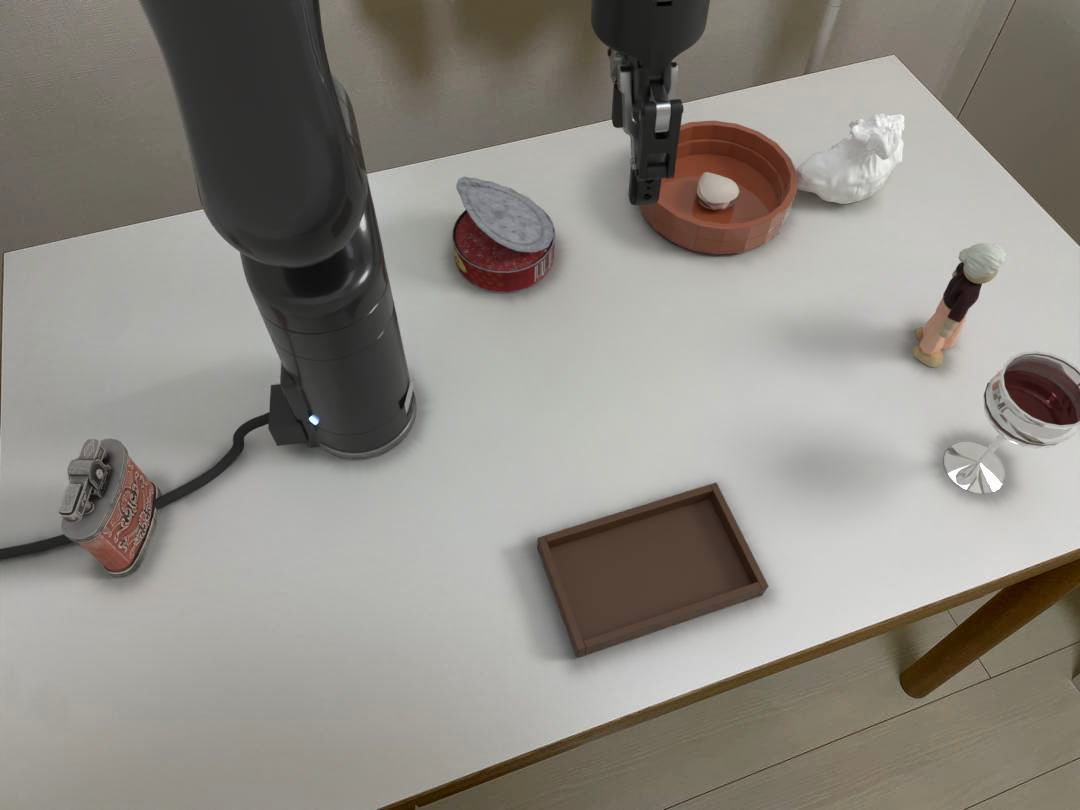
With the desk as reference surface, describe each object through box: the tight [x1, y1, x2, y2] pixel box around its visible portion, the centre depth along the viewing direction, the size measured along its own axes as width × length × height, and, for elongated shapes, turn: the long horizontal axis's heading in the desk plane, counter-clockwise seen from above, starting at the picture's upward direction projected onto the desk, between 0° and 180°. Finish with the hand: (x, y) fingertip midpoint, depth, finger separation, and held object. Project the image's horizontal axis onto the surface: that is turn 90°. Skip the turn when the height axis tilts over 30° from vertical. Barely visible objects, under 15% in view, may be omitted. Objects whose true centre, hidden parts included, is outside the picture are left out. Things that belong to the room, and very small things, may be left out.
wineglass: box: [943, 350, 1080, 495], centre depth 66 cm, size 7×7×12 cm
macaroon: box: [696, 172, 739, 210], centre depth 86 cm, size 4×5×2 cm
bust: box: [795, 112, 906, 205], centre depth 84 cm, size 12×8×11 cm
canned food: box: [451, 176, 556, 294], centre depth 81 cm, size 11×10×10 cm
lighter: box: [57, 437, 162, 579], centre depth 63 cm, size 8×3×10 cm, turn 178°
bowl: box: [639, 120, 798, 255], centre depth 86 cm, size 15×15×4 cm
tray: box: [536, 482, 769, 659], centre depth 65 cm, size 15×9×2 cm, turn 109°
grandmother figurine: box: [911, 242, 1008, 368], centre depth 73 cm, size 8×4×13 cm, turn 168°
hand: (633, 161), depth 65 cm, fingers open, 8 cm apart
